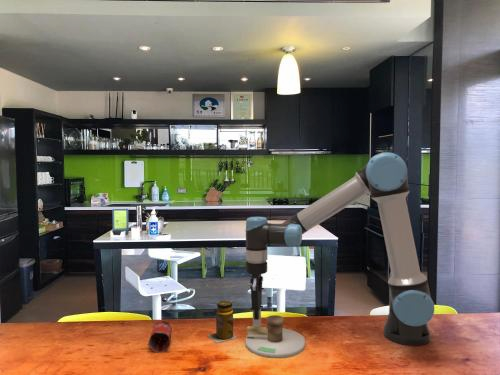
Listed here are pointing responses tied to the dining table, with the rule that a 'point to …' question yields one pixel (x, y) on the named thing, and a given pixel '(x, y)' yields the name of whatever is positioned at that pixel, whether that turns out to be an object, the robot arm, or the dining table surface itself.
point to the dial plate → (276, 344)
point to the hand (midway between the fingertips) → (256, 327)
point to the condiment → (223, 323)
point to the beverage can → (160, 336)
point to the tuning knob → (269, 328)
